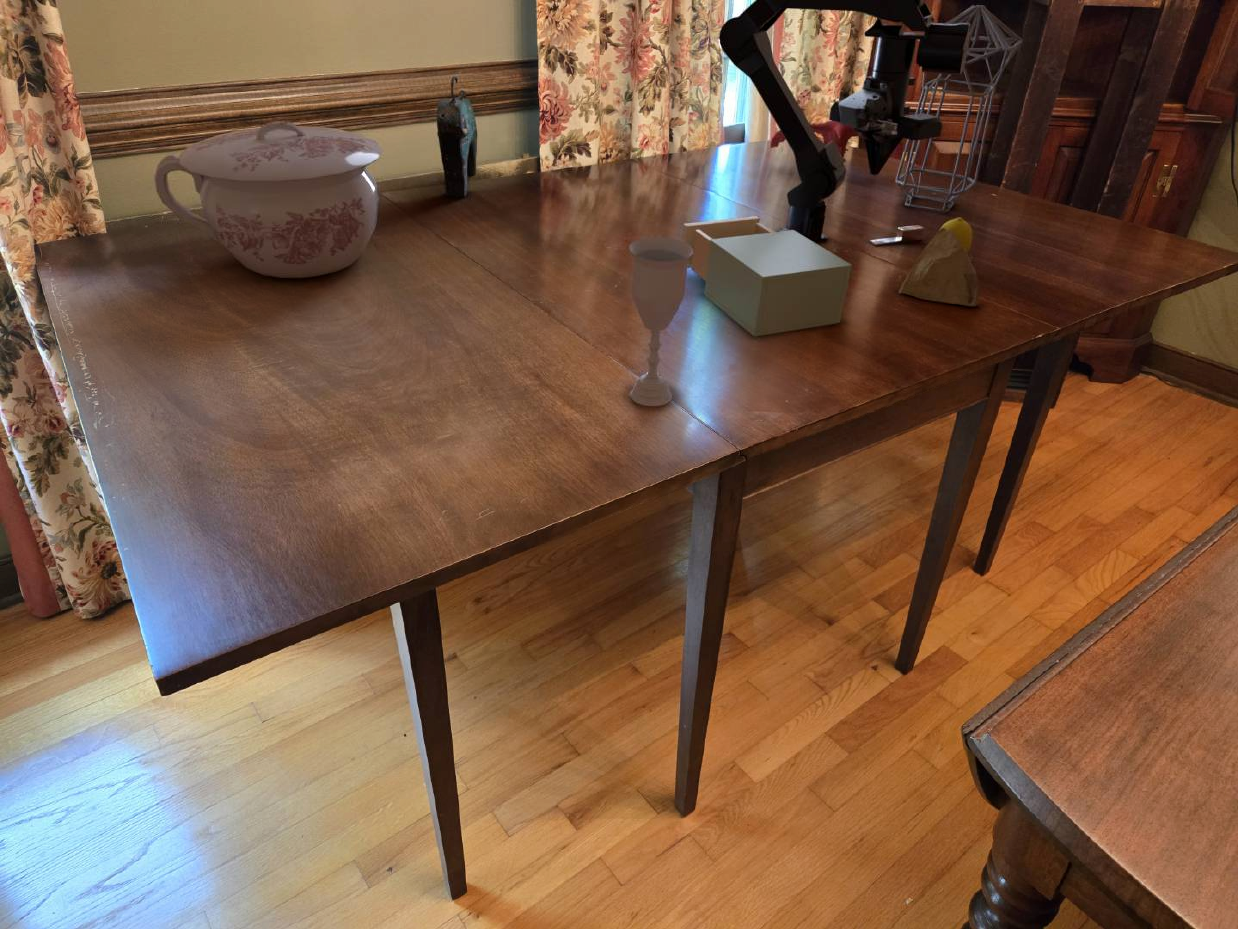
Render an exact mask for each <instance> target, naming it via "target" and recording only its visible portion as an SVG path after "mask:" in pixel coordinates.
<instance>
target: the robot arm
mask: <svg viewBox="0 0 1238 929" xmlns="http://www.w3.org/2000/svg"><path fill="white" fill-rule="evenodd" d="M926 1H927V0H754V1H753V2H752V3H751V4H750V5H749V6H748V7H746V8H745V9H744V10H743V11H742V13H740V14H739V15H738V16H734V17H731V18H729V19H728V20H726V21H725V22H724V23H723V25H722V26H721V29H720V31H719V35H718V36H719V37H718V44H719V47H720V49H721V51H722V52H723V53H724V55H725V56H726V57H727V58H728V60H729V61H730V62H731V63H732V64H733V65H734V66H735V67H736V68H737V69H738V70H739V71H741V73H743V74H745V75H746V76H747V78H749V79H750V81H751V82H752V84H753V87H755V89H756V91H757V93H758V94H759V96H760V98H761V99H762V101H763V103H764V105H765V106H766V108H767V110H768V112H769V113H770V115H771V117H772V119H773V120H774V122H775V124H776V125H777V127H778V129H779V130H781V132H782V134H783V136H784V137H785V141H786V143H787V145H788V146H789V147H790V150H791V151H792V153H793V156H794V161H795V167H796V173H797V175H798V178H799V182H798V183H797V184H796V185H794V187H793V188H791V189H790V190H789V191H788V192H787V193H786V197H787V203H788V214H787V219H786V220H787V221H786V226H785V227H782V228H778V231H777V232H780V231H789V230H794V231H796V232H798V233H799V234H801V235H803V236H804V237H806V238H808V239H809V240H811V241H813V242H814V243H815V242H821V241H828V238H829V237H828V236H827V235H826V234H824V233H823V230H824V226H825V220H826V210H827V205H826V201H825V200H826V199H828V198H829V197H831V195H833V194H834V193H835V192H836V191H837V190H838V188H839V187H840V186H841V185H843V183H844V181H845V178H846V175H847V170H846V167H845V164H844V163H846V161H847V159H846V158H845V157H844V158H843V157H842V156H841V155H840V153H839V151H838V148H837V146H836V143H835V142H834V140H833V141H831V142H830V143H829V144H828V145H826V144H825V143H824V141H822V140H821V138H819V137H818V136H817V133H816V132H814V131H813V129H812V127H811V125H810V124H811V123H810V122H809V120H808V118H807V117H806V115H805V113H804V111H803V110H802V108H801V107H800V104H799V102H798V101H797V99H796V97H795V96H794V94H793V93H792V91H791V89H790V87H789V85H788V83H787V82H786V80H785V78H784V77H783V74H782V73H781V71H780V69H779V68H778V66H777V64H776V63H775V60H774V54H773V49H772V48H773V47H772V43H771V40H770V38H769V34H768V31H769V30H770V29H771V28H772V27H773V26H774V25H775V24H776V22H778V20H779V19H780V17H782V15H783V14H784V13H785V11H787V9H788V10H789V9H790V10H813V11H814V10H815V11H817V10H818V11H836V12H837V11H839V12H840V11H841V12H856V13H861V14H863V15H867V16H870V17H873V18H876V20H875V22H874V23H873V24H872V25H871V26H870V27H869V28H868V29H867V30H865V32H864V33H863V36H864V37H867V38H877V40H876V45H875V52H874V57H873V65H872V72H871V75H870V76H866V77H865V80H864V81H863V85H862V88H861V90H859V91H855V92H854V93H852V94H850V95H849V96H847V97H846V98H844V99H842V100H836V101H834V103H833V104H832V105H831V106H830V110H829V117H828V121H836V122H841V124H842V125H846V124H847V125H851V126H853V127H854V128H853V129H854V131H855V132H858V133H859V135H860V136H859V137H861V139H863V144H864V147H865V150H866V156H867V162H868V169H869V173H870V175H872V176H879V174H880V172H881V171H882V170H883V168H884V167H885V165H886V163H887V162H888V160H889V159H890V157H892V156H891V154H892V153H893V151H894V150H895V148H896V147H897V146H898V144H899V143H900V142H902V141H903V139H905V140H908V139H909V140H910V141H913V140H917V141H919V140H927V139H930V138H933V139H934V138H939V137H941V134H942V129H943V121H942V119H941V117H940V116H939V117H937V116H936V115H932V114H929V115H928V114H927V113H924V112H923V113H920V112H919V114H916V113H915V114H910V111H911V105H910V106H909V105H906V102H907V96H908V90H909V87H910V86H915V83H916V77H911V74H912V68H913V63H914V57H915V51H916V47H917V51H916V58H915V64H916V65H918V67H920V68H921V73H926V74H939V73H940V74H942V75H949V74H952V75H955V76H956V75H957V76H961V75H962V74H963V72H964V71H963V68H964V65H965V62H967V58H968V56H967V53H968V48H970V47H969V46H968V40H969V33H970V30H971V22H969V23H966V22H962V23H958V24H945V23H942V22H941V23H940V22H936V20H935V18H934V15H933V13H932V11H931V10H930V8H929V6H928V4H927V2H926ZM884 21H887V22H892V23H902V24H886V23H885V22H884ZM905 26H906V28H908V29H909V30H910V31H911V32H908V31H905V29H906V28H905ZM923 32H924V33H923ZM918 39H920V41H918ZM917 41H918V46H916V45H917ZM966 57H967V58H966ZM940 74H939V75H940ZM908 114H909V115H908Z"/></svg>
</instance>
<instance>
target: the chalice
mask: <svg viewBox="0 0 1238 929" xmlns="http://www.w3.org/2000/svg"><path fill="white" fill-rule="evenodd" d="M628 248H629V251H630V254H631V256H632V259H633V261H632V262H633V263H632V279H631V280H632V282H631V293H632V298H633V301H634V303H635V308H636V310H637V312H638V315H639V317H640V319H641V322H642V324H643V326H644V328H645V329H646V330H647V329H648V330H650V333H651V336H650V339H649V341H648V342H647V346H648V348H649V351H650V352H649V354H648V356H646V357H645V360H646V361H647V363H648V367H649V368H648V370H647V372H646V373H643V374H641V375H640V376H639V377H638V378H637V379H636V382H635V383H634V385H633V388H632V389H631V391H630V393H629V397H630V399H631V400H632V401H633V402H634V403H636V404H638V405H641V406H645V407H661V406H664V405H667V404H669V403H671V401H672V400H673V394H672V392H671V391H670V386H669V384H668V380H667V379H666V378H665V376H664V375H663V374H660V373H659V372H658V369H657V368H658V364H659V363H660V362H661V361H662V358H661V357H660V356H659V349H660V348H661V347H662V343H661V341H660V333H661V331H665V330H667V329H668V328H669V326H670V324H671V323H672V321H673V319H674V318H675V316H676V314H677V312H678V311H679V309H680V306H681V305H682V303H683V302H682V301H683V300H684V297H685V295H686V294H685V293H686V282H687V273H688V272H687V270H688V268H687V262H688V260H689V259H690V257H691V255H692V254H693V249H692V248H691V246H690V245H688V244H686V243H685V242H682V240H680V239H677V238H672V237H666V236H664V237H663V236H651V237H650V236H648V237H643V238H639V239H636V240H634V241H632V242H631V243H630V244H629V247H628Z"/></svg>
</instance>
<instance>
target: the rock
mask: <svg viewBox="0 0 1238 929" xmlns="http://www.w3.org/2000/svg"><path fill="white" fill-rule="evenodd" d="M939 230H940V231H939ZM939 230H938V232H937V233H936V234H935V235H934V237H933V238H932V239H931V240H930V242H928V244H927V245H926V246H925V248H924V249H923V251H922V253H921V254H920V255H919V257H918V259H917V260H916V262H914V264H913V265H912V266H911V268H910V269H909V272H908V274H907V276H906V278H905V279H904V281H903V282H902V285H901V287H900V289H898V294H900V295H903V294H904V295H908V296H912V297H914V298H916V299H920V300H926V301H930V302H938V303H944V304H945V303H946V304H951V305H961V306H967V307H976V306H978V305H979V302H980V289H981V287H980V285H979V282H978V274H977V271H976V270H975V267H974V265H973V263H972V261H971V258H970V257H969V255H968V253H966V251H965V250H964V249H963V247H962V245H961V244H960V242H959V241H958V239H957V237H956V235H955V234H954V233H953V232H952V231H949V230H947V229H945V228H941V227H940V228H939Z"/></svg>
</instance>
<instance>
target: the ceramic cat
mask: <svg viewBox="0 0 1238 929" xmlns="http://www.w3.org/2000/svg"><path fill="white" fill-rule="evenodd" d="M457 83H458V76H452V78H451V81H450V93H451V98H448V99H447V98H445V99H443V98H442V99H439V100H438V102H437V108H436V127H437V128H436V129H437V132H436V133H437V138H438V145H439V151H440V159H441V165H442V170H443V177H444V186H445V193H446V196H447V197H450V198H465V197H466V195H467V193H468V176H475V175H476V173H477V154H478V127H477V122H476V116H475V112H474V108H473V106H472V105H473V104H472V102H471V100H470V99H468V98H467V93H466V91H465V90H464V89H461V90H459V93H458V95H457V98H456V95H454V84H457ZM462 94H463V95H462Z"/></svg>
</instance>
